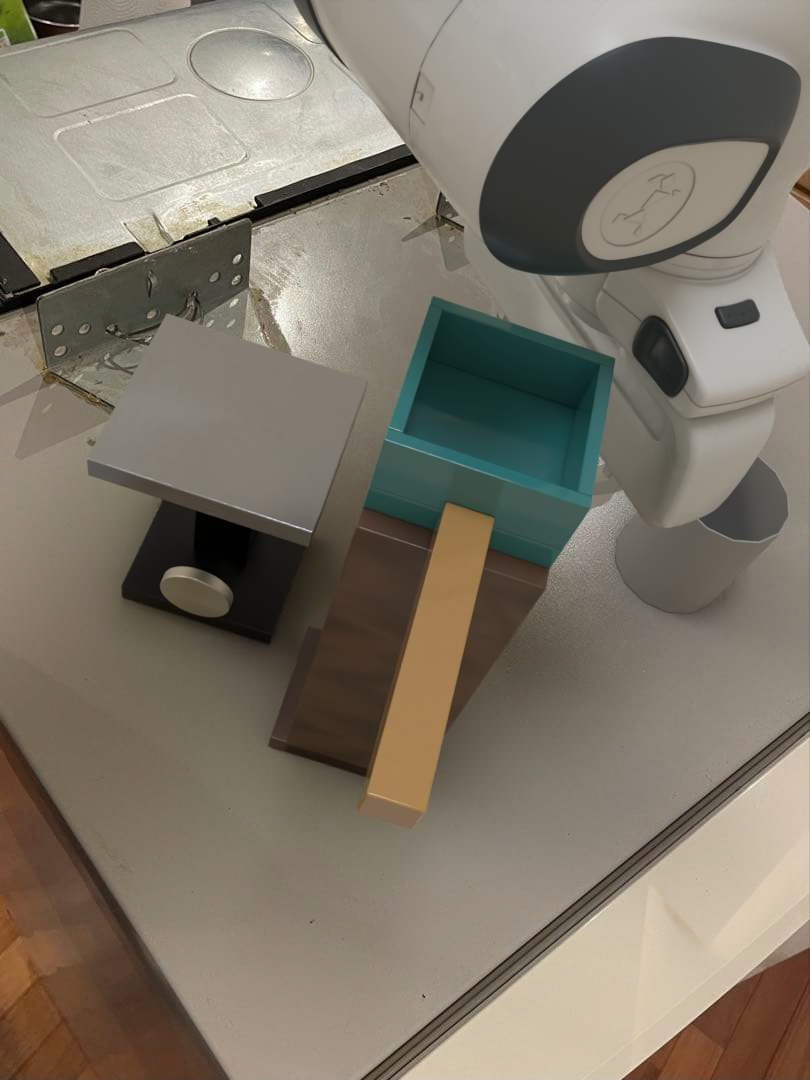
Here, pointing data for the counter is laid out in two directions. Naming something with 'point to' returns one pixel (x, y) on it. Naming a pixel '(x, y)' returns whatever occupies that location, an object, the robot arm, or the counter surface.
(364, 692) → the plinth
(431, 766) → the teal handled box
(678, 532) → the cup
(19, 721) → the counter surface
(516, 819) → the counter surface
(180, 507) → the scale
